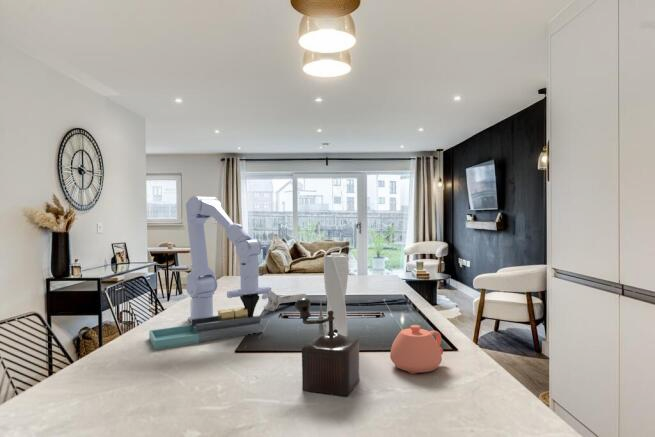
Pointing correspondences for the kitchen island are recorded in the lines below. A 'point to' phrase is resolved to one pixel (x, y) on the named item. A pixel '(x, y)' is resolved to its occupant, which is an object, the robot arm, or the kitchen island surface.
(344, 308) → the skyscraper
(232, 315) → the chip
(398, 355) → the sugar bowl
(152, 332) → the tray
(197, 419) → the kitchen island surface
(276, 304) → the wrench
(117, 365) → the kitchen island surface
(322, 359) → the brown manual coffee grinder
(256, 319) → the slot block
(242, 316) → the wooden cube
